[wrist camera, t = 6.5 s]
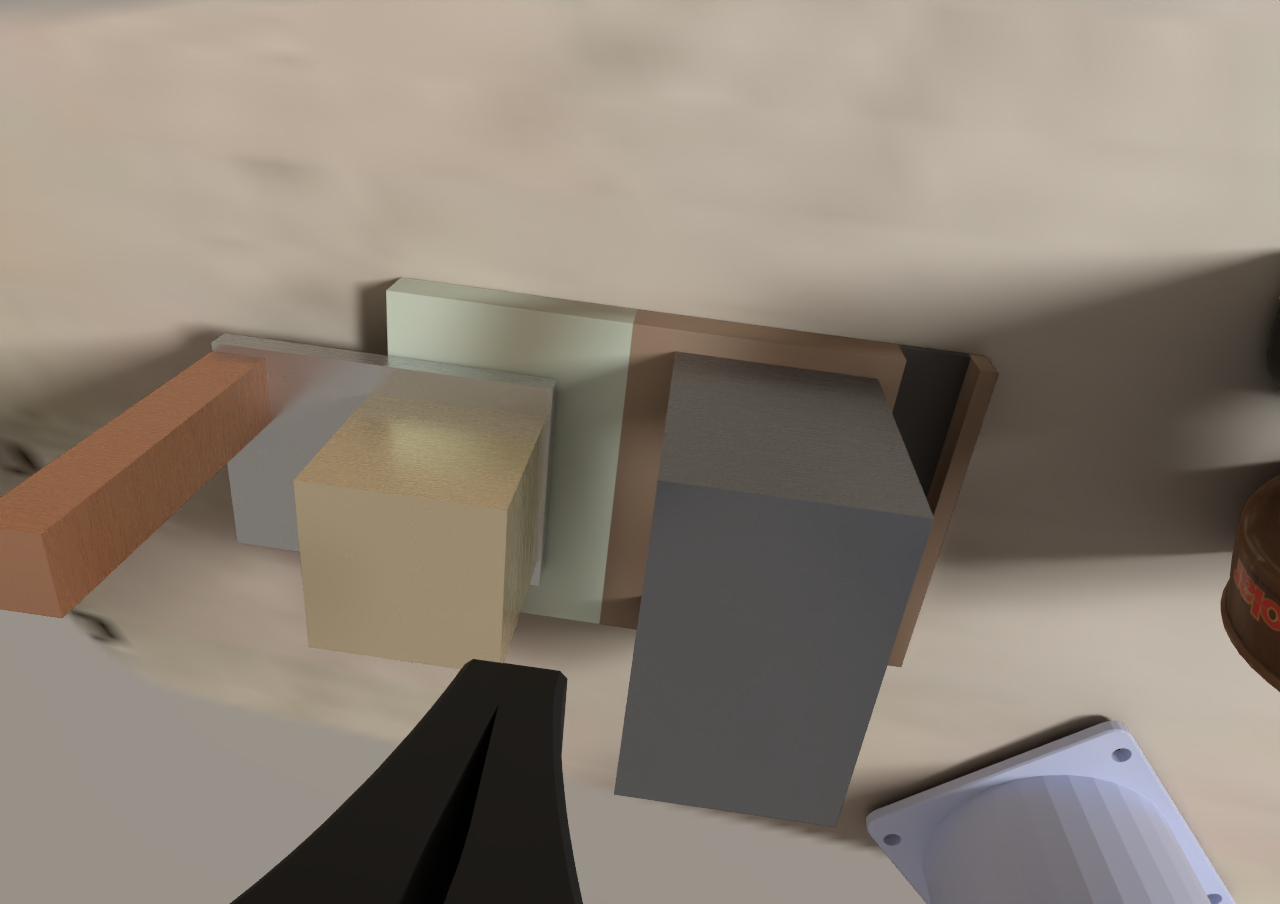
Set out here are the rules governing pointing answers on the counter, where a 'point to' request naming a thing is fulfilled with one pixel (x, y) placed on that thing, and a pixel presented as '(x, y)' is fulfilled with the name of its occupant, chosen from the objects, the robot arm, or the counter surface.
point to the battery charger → (1274, 352)
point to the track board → (636, 415)
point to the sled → (317, 492)
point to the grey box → (768, 588)
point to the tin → (1256, 584)
